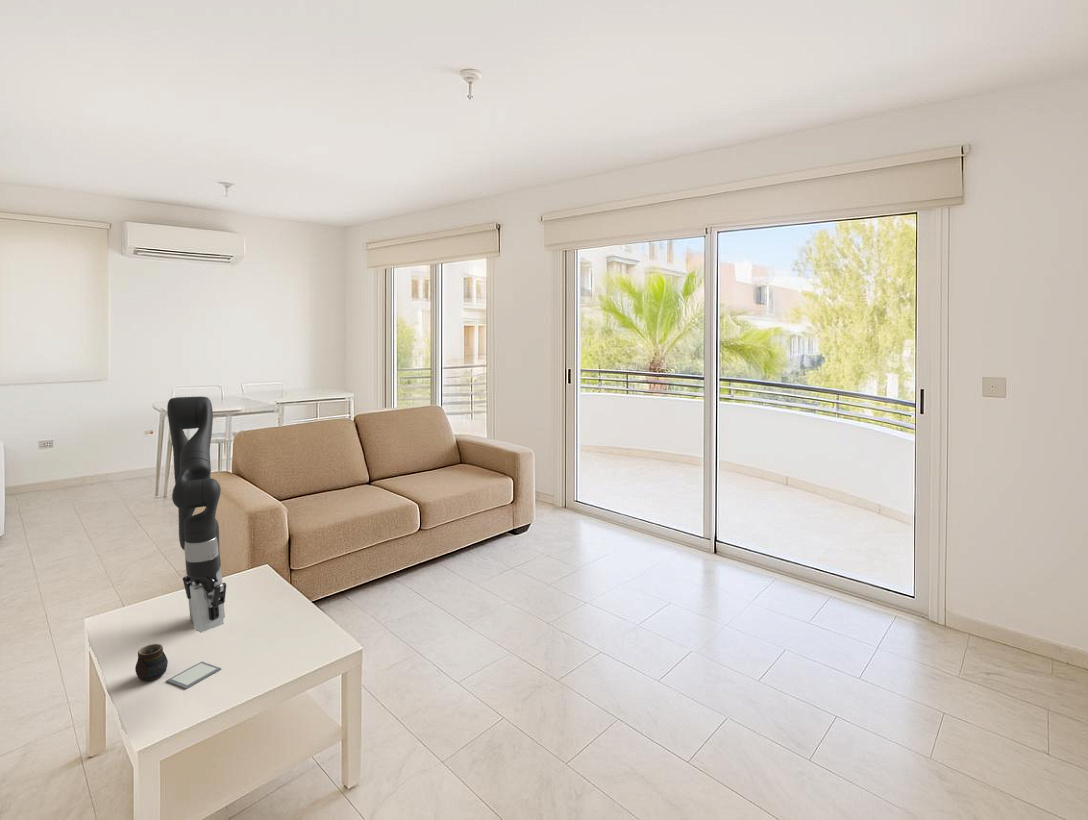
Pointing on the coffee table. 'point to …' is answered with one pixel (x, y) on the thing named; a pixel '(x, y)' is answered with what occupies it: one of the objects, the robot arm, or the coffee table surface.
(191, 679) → the slate gray picture frame
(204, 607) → the skincare box
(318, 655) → the coffee table surface
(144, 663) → the mate gourd
